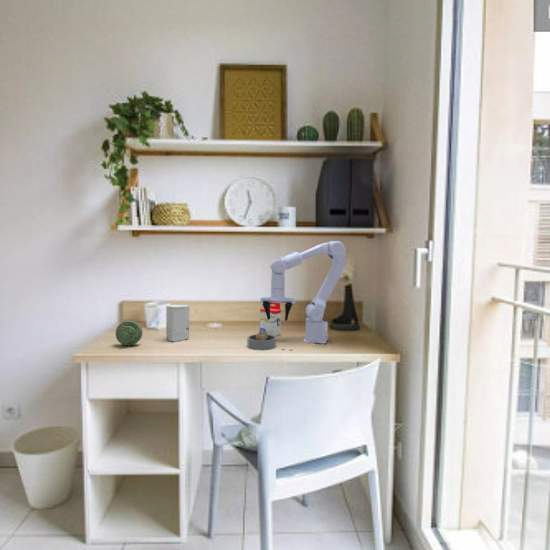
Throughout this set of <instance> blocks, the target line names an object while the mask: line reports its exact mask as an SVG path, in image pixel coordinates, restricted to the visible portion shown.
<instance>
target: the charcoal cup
mask: <svg viewBox="0 0 550 550" xmlns="http://www.w3.org/2000/svg"><path fill="white" fill-rule="evenodd" d="M257 334H258V333H257ZM257 334H251V335H249V336H247V338H246V339H247V340H246V341H247V342H246V344H247V345H246V346H247V347H248V349H250V350H254V351H255V350H257V351H258V350H259V351H266V350H269V351H270V350H273V349H275V348H276V347H277V336H272V335H267V340H265V341H259V340H256V335H257Z"/></svg>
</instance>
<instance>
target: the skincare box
mask: <svg viewBox="0 0 550 550" xmlns="http://www.w3.org/2000/svg"><path fill="white" fill-rule="evenodd" d="M165 309H166V311H165V312H166V316H165V317H166V319H165V321H166V324H165V326H166V328H165V329H166V333H165V335H166V337H165V338H166V340H167V341H169V342H172V341H173V342H172V343H174V341H175V342H180V341H179V340H181V341H185V339H187V340H189V339H190V305H186V304H171V305H166V308H165Z"/></svg>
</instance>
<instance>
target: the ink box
mask: <svg viewBox="0 0 550 550" xmlns="http://www.w3.org/2000/svg"><path fill="white" fill-rule="evenodd" d="M281 312H282V310H281V303H273V302H271V305H270V319H269V320H267V315H266V311H265V309H264V307H262V308H260V310H259V332H267V335H272V336H275V337H278V336H280V335H281V321H282V319H281V316H282V315H281V314H282V313H281Z"/></svg>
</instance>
